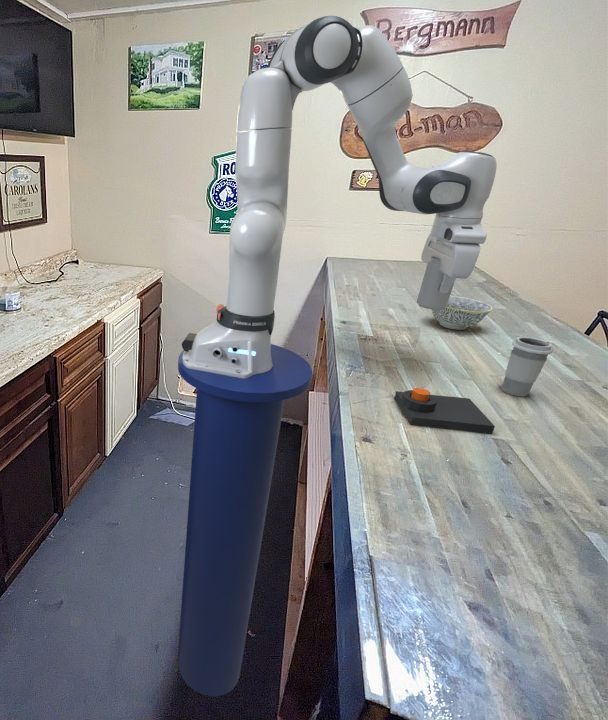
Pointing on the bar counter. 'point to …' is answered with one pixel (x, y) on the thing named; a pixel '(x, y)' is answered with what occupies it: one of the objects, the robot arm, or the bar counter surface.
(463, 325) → the bowl
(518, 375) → the cup
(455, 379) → the bar counter surface
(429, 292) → the beverage can
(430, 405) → the black flat block
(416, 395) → the tare button
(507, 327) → the bar counter surface
